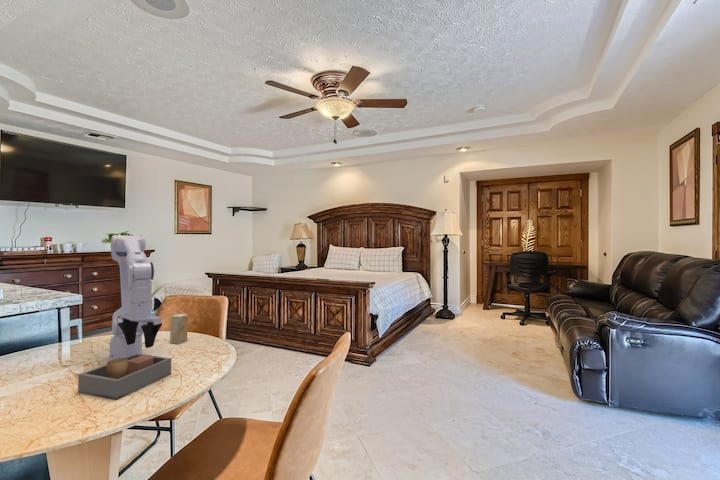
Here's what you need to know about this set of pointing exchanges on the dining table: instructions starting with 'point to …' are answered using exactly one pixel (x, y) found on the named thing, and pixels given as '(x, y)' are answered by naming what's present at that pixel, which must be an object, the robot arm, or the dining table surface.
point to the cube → (139, 363)
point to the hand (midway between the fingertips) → (140, 345)
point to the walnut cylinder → (117, 368)
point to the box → (178, 328)
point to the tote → (122, 379)
